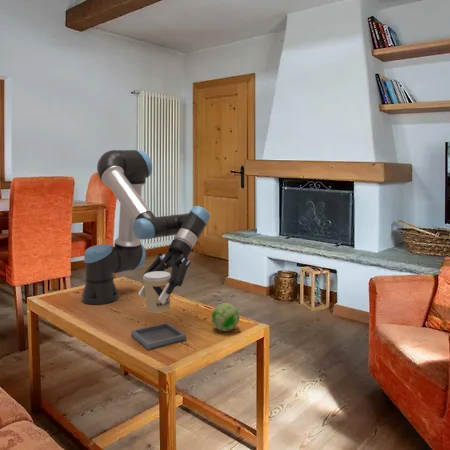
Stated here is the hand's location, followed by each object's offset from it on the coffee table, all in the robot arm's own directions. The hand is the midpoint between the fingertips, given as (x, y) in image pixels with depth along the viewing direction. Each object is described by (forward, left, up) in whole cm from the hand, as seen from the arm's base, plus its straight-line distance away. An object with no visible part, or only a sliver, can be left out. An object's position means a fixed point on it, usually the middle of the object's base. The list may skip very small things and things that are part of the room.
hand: (150, 298), depth 153 cm
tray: (-1, +3, -15) cm, 15 cm away
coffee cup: (-1, +3, -4) cm, 6 cm away
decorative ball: (+6, +26, -15) cm, 31 cm away
